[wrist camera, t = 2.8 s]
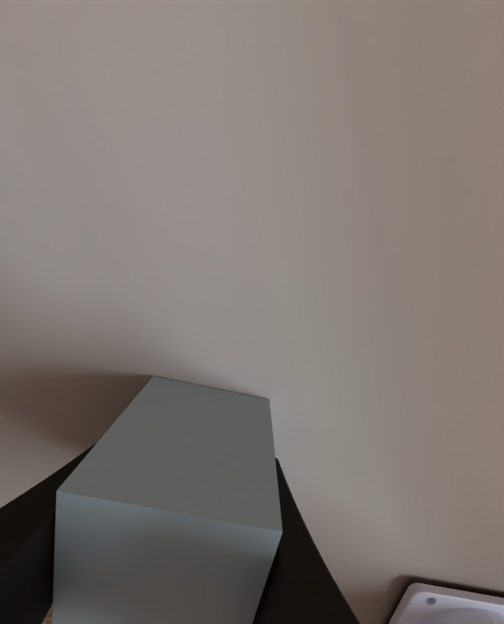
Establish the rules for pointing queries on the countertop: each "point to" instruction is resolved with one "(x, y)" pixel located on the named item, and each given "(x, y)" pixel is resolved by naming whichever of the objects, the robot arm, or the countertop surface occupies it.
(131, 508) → the slate block
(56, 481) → the robot arm
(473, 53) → the countertop surface
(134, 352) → the countertop surface
